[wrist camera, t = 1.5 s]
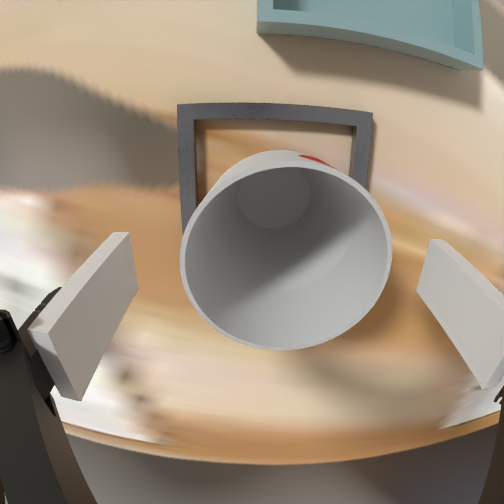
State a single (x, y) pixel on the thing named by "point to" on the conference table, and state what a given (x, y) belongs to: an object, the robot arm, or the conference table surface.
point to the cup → (285, 252)
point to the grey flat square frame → (263, 111)
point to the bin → (385, 26)
